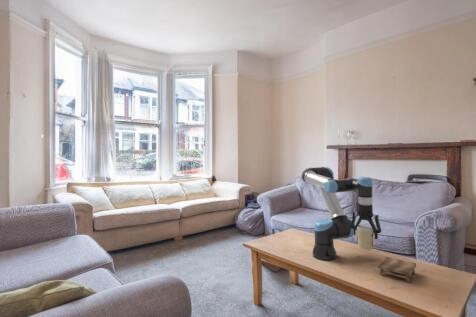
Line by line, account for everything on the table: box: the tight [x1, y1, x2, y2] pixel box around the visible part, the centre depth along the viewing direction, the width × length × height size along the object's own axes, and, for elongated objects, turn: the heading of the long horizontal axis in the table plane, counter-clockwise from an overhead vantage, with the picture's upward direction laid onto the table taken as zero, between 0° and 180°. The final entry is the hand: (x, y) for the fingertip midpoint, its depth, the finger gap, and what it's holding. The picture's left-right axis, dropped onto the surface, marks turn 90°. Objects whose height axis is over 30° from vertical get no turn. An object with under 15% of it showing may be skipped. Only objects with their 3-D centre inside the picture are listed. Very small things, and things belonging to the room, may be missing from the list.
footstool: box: [378, 256, 417, 284], centre depth 146 cm, size 15×15×6 cm
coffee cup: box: [357, 224, 374, 251], centre depth 154 cm, size 9×9×12 cm
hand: (365, 242), depth 154 cm, fingers closed on coffee cup, 9 cm apart
